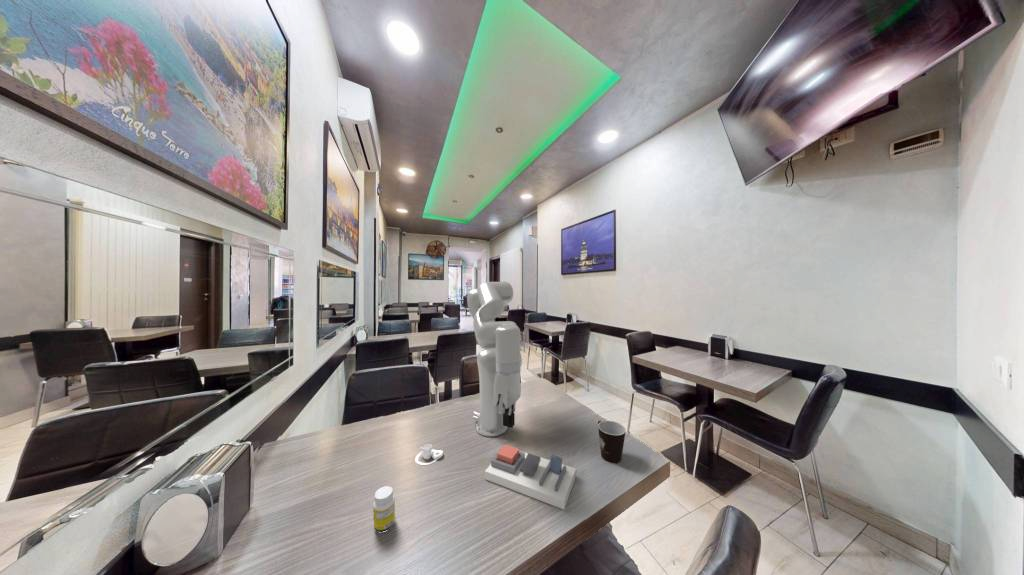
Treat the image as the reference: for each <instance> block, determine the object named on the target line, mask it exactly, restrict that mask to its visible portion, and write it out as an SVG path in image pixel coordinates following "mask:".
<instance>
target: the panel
mask: <svg viewBox="0 0 1024 575" xmlns="http://www.w3.org/2000/svg"><path fill="white" fill-rule="evenodd" d="M502 448H503V446H502V447H501V448H500V449H499V451H500V450H501V449H502ZM528 453H529V452H524V451H521V450H519V456H518V458H517V459H516V461H515V462H514V463H513V465H510V464H507V463H504V462H501V461H498V460H497V454H498V452H497V453H496V454H495V455H494V457H492V458H491V460H490V464H489V466H488V467H487V468H486V469H485V470H484V479H485V480H487V481H489V482H491V483H493V484H496V485H499V486H501V487H503V488H506V489H508V490H511V491H515V492H518V493H519V494H523V495H525V496H527V497H529V498H532V499H535V500H538V501H541V502H542V503H546V504H548V505H551V506H553V507H555V508H558V509H561V510H566V509H565V508H566V505H567V502H568V500H569V498H570V494H571V491H572V489H573V486H574V483H575V480H576V477H577V467H576V468H575V467H572V466H569V465H566V464H563V463H562V471H561V473H560V474H557V473H554V472H551V471H550V459H547V458H544V457H541V456H539V457H540V458H541V461H540V463H539V465H538V467H537V470H536V472H535V474H534V476H531V475H528V474H525V473H522V472H521V470H520V468H521V466H522V465H523V463H524V461H525V459H526V457H527V455H528Z"/></svg>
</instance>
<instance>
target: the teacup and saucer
mask: <svg viewBox="0 0 1024 575" xmlns="http://www.w3.org/2000/svg"><path fill="white" fill-rule="evenodd" d="M421 450H422V451H421ZM418 452H419V453H418V454H416V456H415V457H414V462H415V463H416V464H417V465H419V466H429V465H432V464H434V463H436V462H437V461H438V460H439V459H441V458H442V457H443V455H444V450H442V449H439V450H438V449H433V445H432V444H431V443H426V444H424V445H423V446H420V447H419V450H418ZM422 453H423V454H422ZM421 456H422V457H423V459H424V460H429V459H431V458H432V459H433V460H432V461H430V462H421V461H420V460H419V458H420V457H421ZM418 460H419V461H418Z"/></svg>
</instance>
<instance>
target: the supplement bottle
mask: <svg viewBox="0 0 1024 575" xmlns="http://www.w3.org/2000/svg"><path fill="white" fill-rule="evenodd" d="M393 492H394V489H393V487H391V486H388V485H386V486H382V487H380V488H379V489H377V490H376V491H375V493H374V501H373V503H372V504H373V506H372V507H373V529H375V530H376V531H377V532H383V531H386V530H389V529H390V528H391V527H392V526H393V525H395V524H396V504H395V503H396V502H395V500H396V498H395V496H394V493H393ZM394 523H395V524H394ZM393 527H394V526H393ZM393 527H392V528H393ZM392 528H391V529H392ZM391 529H390V530H391ZM375 530H374V531H375ZM390 530H389V531H390ZM376 531H375V532H376ZM377 532H376V533H377Z"/></svg>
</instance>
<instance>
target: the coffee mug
mask: <svg viewBox="0 0 1024 575" xmlns="http://www.w3.org/2000/svg"><path fill="white" fill-rule="evenodd" d="M597 428H598V429H597V430H598V437H599V438H598V439H599V447H600V448H599V449H600V456H601V458H602V459H603V461H605V462H607V463H610V464H619V463H621V461H622V459H623V458H622V457H623V453H624V452H623V450H624V445H625V436H626V431H627V430H626V427H624V425H622V424H621V423H619V422H617V421H614V420H599V421H597Z"/></svg>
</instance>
